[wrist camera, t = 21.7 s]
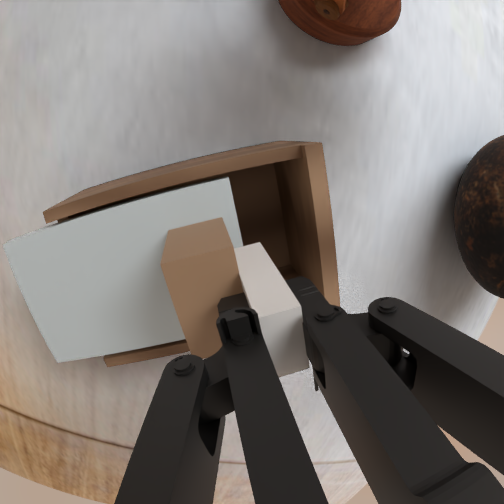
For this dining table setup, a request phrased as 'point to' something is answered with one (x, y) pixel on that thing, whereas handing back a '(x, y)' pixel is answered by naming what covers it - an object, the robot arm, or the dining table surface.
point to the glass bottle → (483, 217)
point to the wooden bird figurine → (343, 18)
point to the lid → (133, 273)
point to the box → (243, 212)
